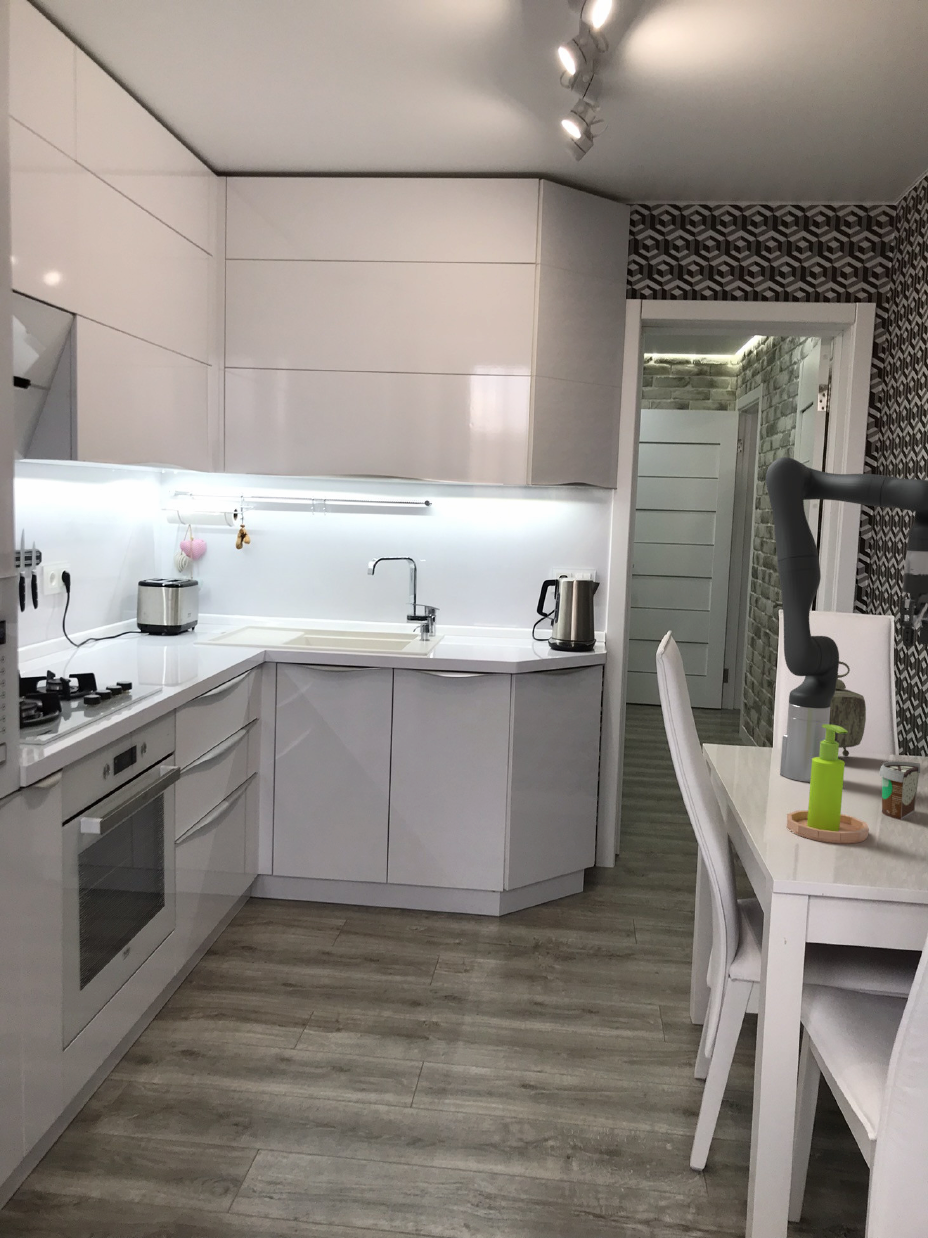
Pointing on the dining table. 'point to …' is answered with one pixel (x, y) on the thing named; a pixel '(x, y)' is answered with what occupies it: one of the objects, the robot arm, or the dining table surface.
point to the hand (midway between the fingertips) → (916, 645)
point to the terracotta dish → (847, 833)
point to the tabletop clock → (847, 714)
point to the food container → (899, 788)
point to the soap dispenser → (826, 783)
